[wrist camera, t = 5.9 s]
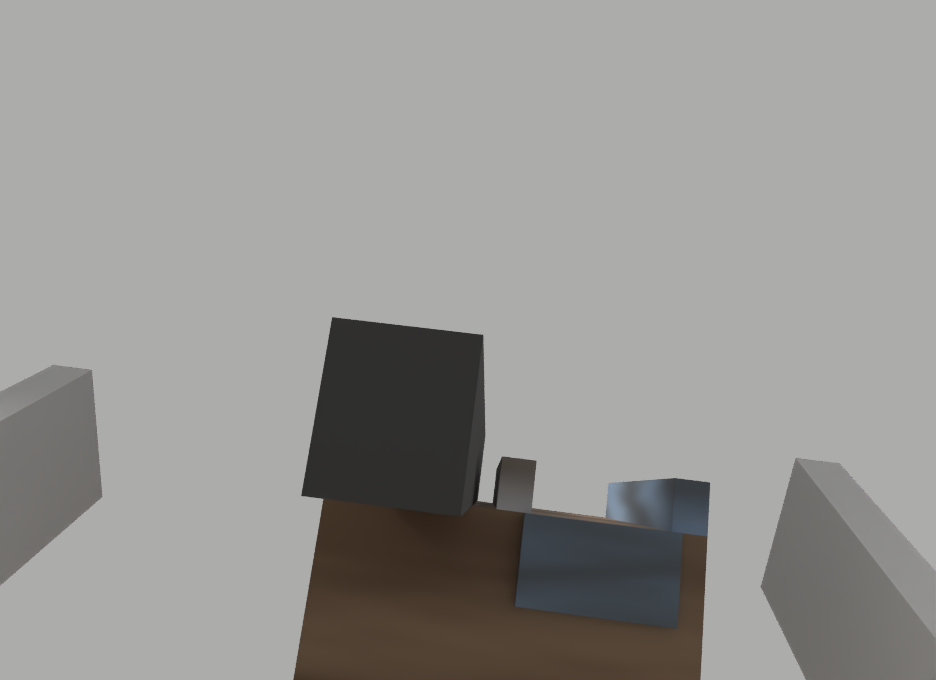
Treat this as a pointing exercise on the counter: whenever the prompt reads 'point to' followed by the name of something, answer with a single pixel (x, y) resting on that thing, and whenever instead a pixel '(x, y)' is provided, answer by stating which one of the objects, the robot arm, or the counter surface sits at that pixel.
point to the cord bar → (399, 418)
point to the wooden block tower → (511, 588)
